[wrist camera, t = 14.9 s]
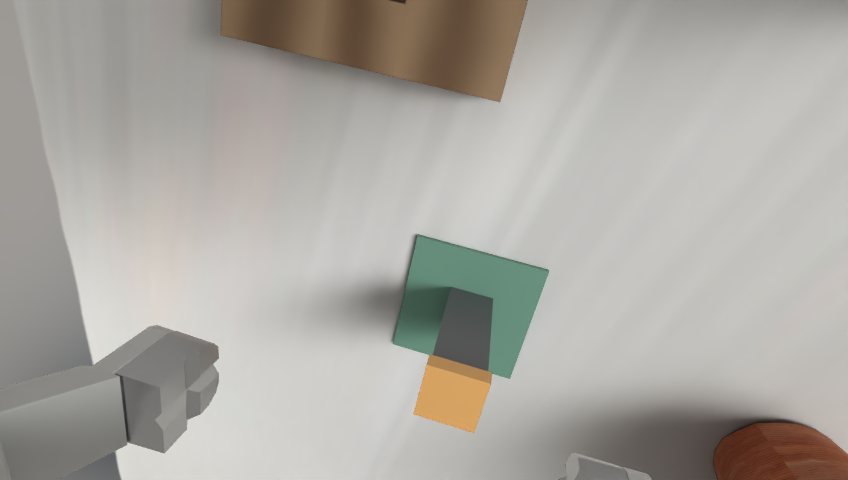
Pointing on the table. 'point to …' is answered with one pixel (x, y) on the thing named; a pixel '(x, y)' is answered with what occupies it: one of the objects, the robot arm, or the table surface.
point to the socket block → (392, 36)
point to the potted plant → (779, 454)
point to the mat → (475, 273)
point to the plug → (459, 363)
